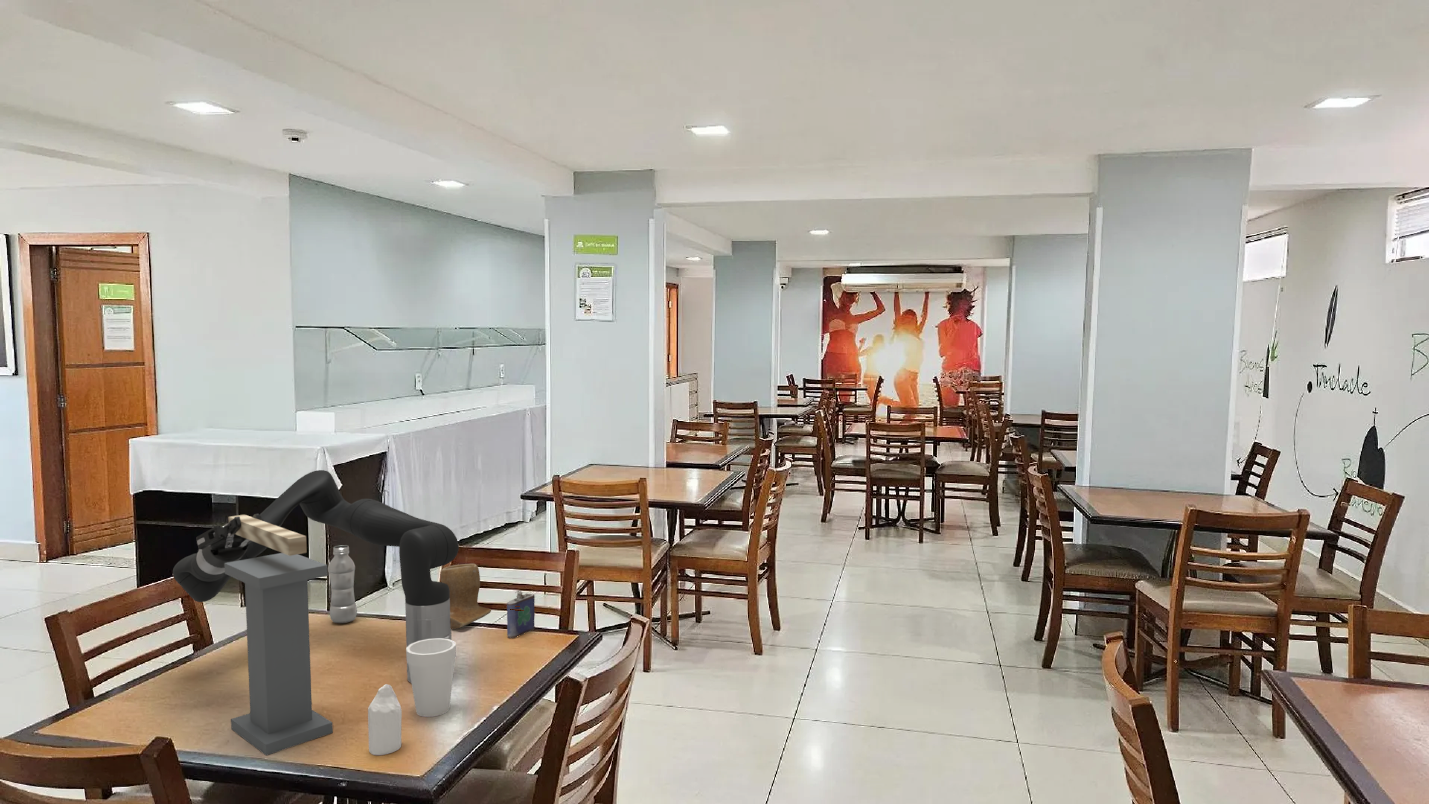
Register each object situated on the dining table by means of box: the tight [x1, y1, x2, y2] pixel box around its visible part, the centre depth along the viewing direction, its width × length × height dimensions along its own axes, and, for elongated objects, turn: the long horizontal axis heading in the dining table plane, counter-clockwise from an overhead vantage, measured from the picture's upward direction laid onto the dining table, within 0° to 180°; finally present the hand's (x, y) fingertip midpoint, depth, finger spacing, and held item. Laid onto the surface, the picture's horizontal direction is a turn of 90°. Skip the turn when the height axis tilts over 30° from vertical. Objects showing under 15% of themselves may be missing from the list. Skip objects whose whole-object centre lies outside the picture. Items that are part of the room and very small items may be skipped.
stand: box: [224, 552, 334, 756], centre depth 163 cm, size 16×12×32 cm
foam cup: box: [405, 638, 457, 718], centre depth 173 cm, size 10×9×13 cm
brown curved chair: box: [440, 563, 492, 630], centre depth 228 cm, size 15×12×15 cm
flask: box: [506, 590, 536, 639], centre depth 219 cm, size 9×3×11 cm, turn 151°
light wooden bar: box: [228, 514, 308, 556], centre depth 165 cm, size 28×3×3 cm, turn 49°
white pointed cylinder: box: [367, 683, 403, 756], centre depth 157 cm, size 6×12×6 cm
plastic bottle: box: [327, 544, 358, 624], centre depth 228 cm, size 6×7×20 cm
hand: (248, 519), depth 170 cm, fingers closed on light wooden bar, 3 cm apart
